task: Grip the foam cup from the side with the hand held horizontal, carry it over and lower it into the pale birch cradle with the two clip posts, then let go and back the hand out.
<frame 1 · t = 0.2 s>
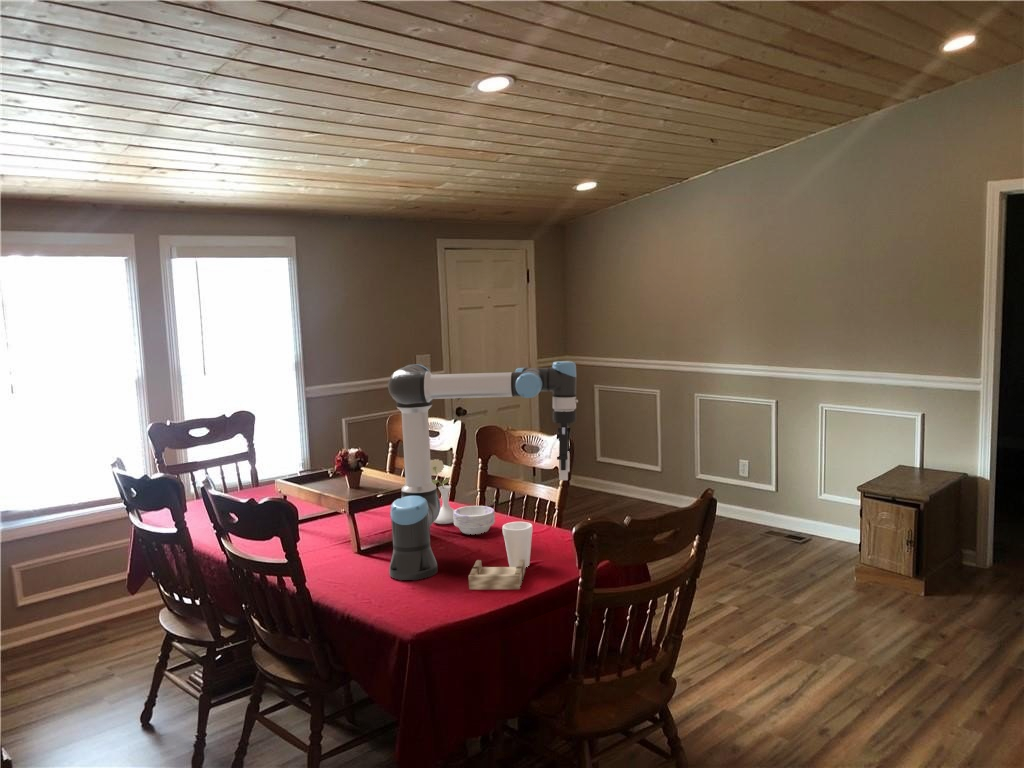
hand: (564, 475, 256), 27 cm above the table, tool pointing down, fingers open, 13 cm apart
flower in vase: (444, 522, 308), on the table
cradle: (497, 580, 242), on the table
foam cup: (519, 566, 254), on the table
paper bowls: (475, 531, 294), on the table
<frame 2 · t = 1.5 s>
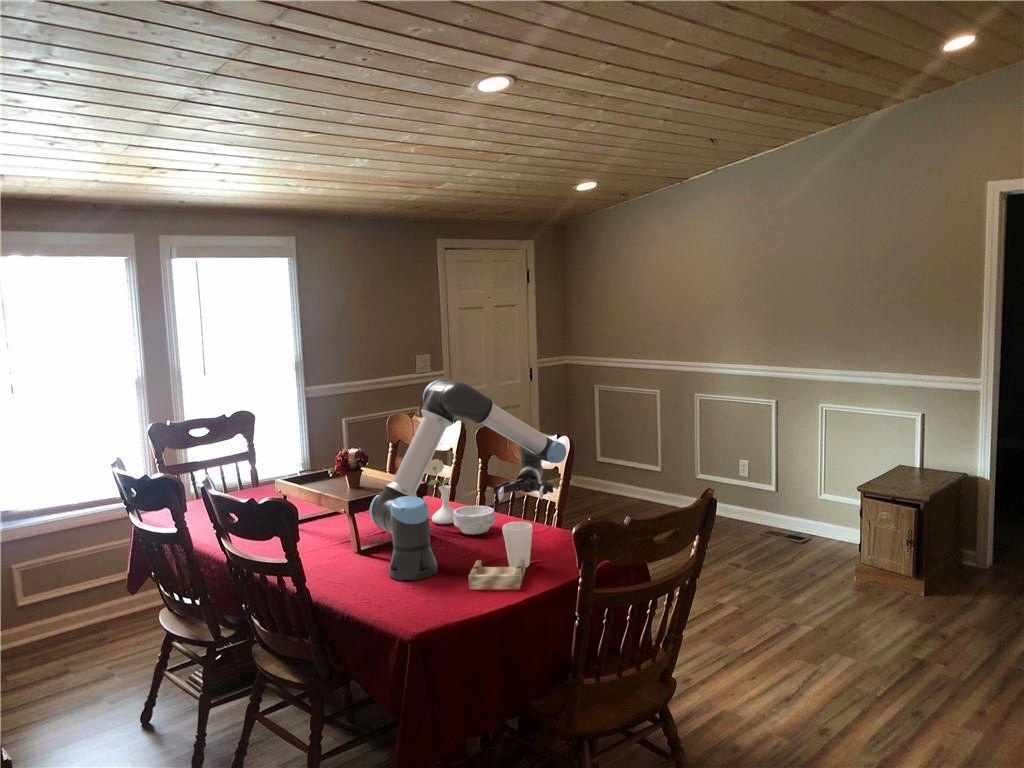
hand: (519, 495, 261), 20 cm above the table, tool horizontal, fingers open, 13 cm apart
nothing on the table moved.
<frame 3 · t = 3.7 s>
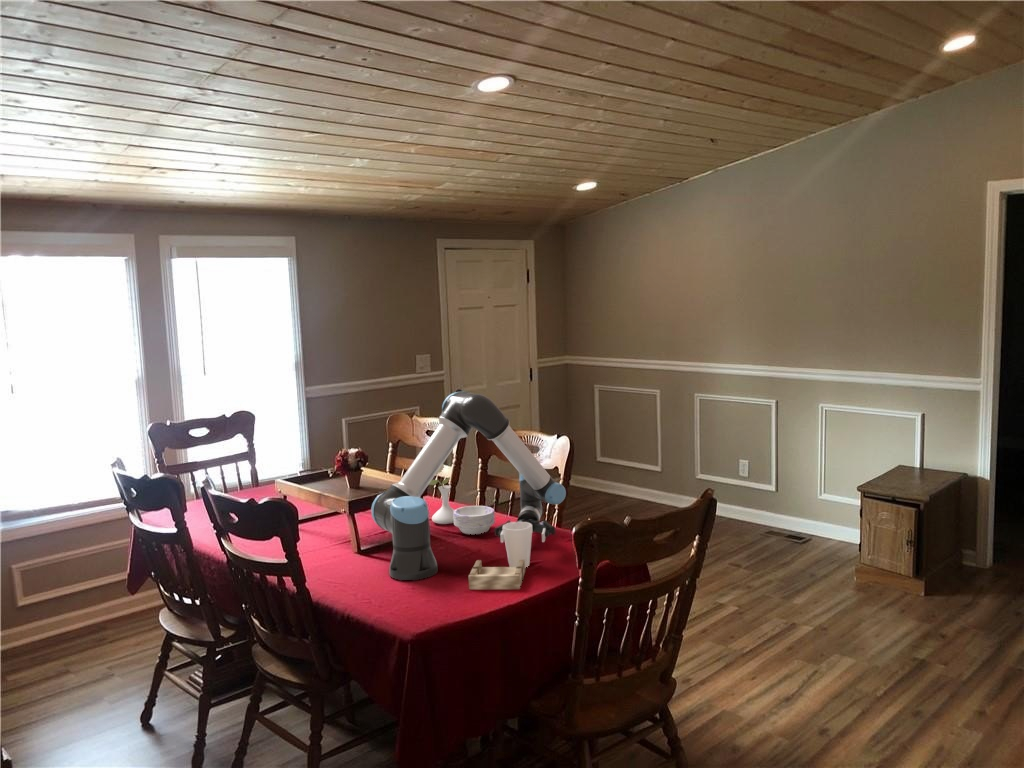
hand: (522, 538, 260), 7 cm above the table, tool horizontal, fingers open, 13 cm apart
nothing on the table moved.
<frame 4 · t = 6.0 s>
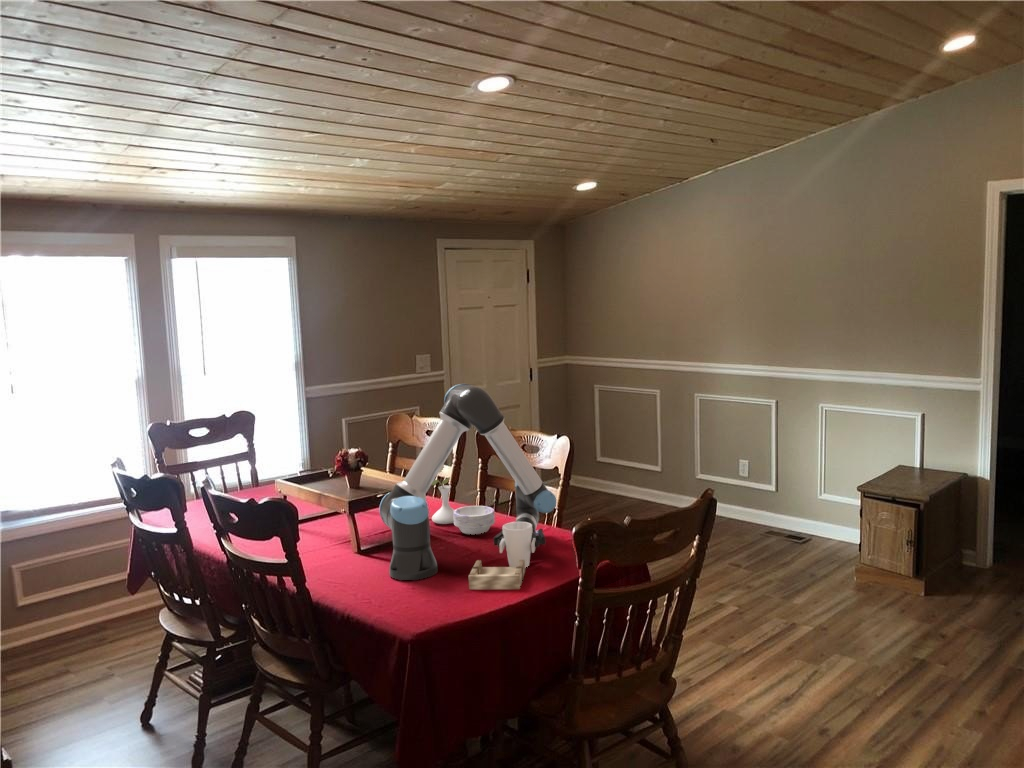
hand: (516, 548, 249), 7 cm above the table, tool horizontal, fingers closed on foam cup, 9 cm apart
foam cup: (519, 566, 254), on the table, touching gripper
everything else where it was.
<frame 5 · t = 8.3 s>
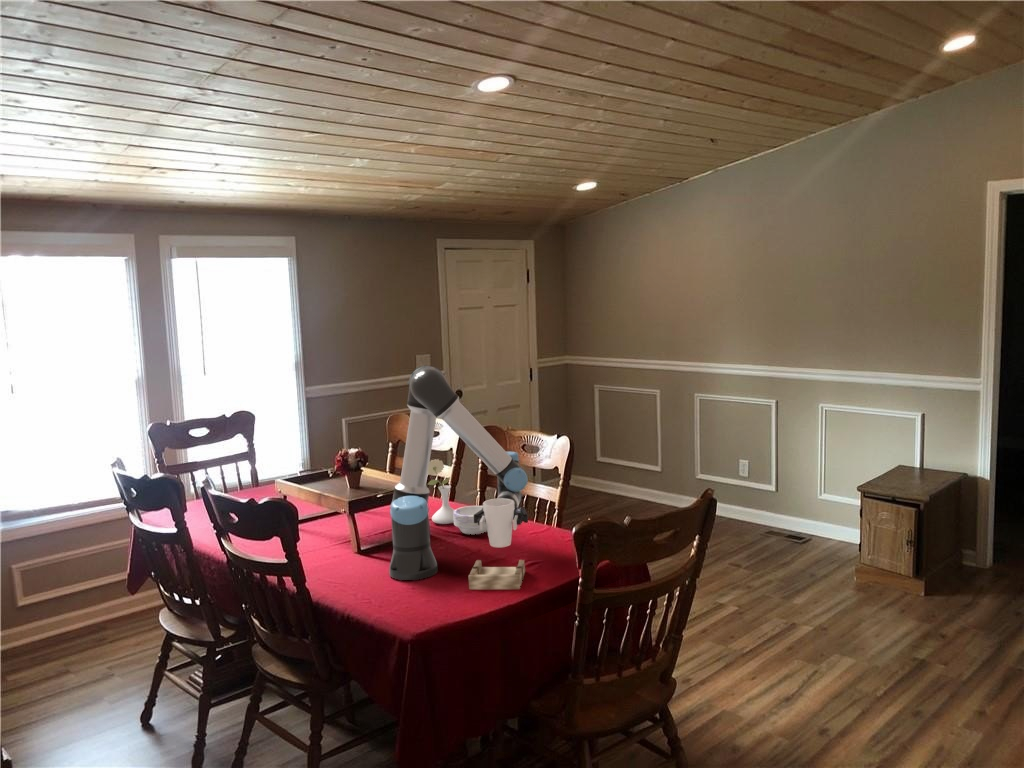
hand: (497, 525, 237), 18 cm above the table, tool horizontal, fingers closed on foam cup, 9 cm apart
foam cup: (500, 544, 242), point 11 cm above the table, touching gripper
everything else where it was.
when the fingers open (10 cm above the table, at t = 10.5 s): foam cup drops 1 cm, resting on cradle.
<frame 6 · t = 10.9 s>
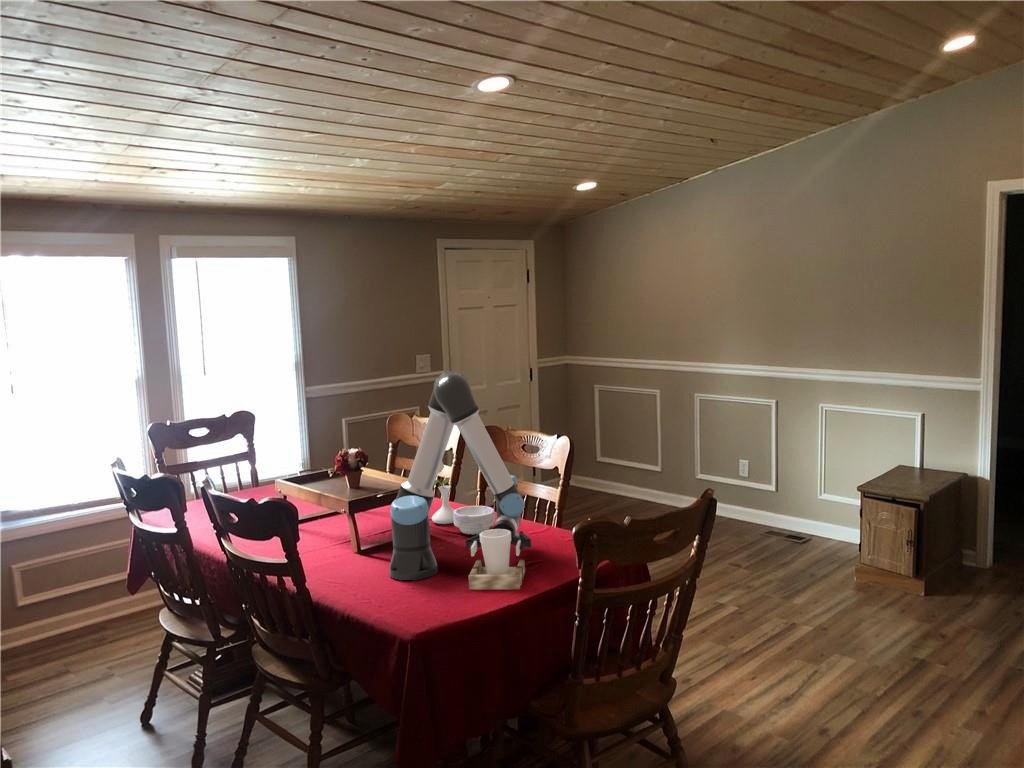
hand: (494, 551, 238), 10 cm above the table, tool horizontal, fingers open, 13 cm apart
foam cup: (497, 575, 242), point 1 cm above the table, touching cradle
everything else where it was.
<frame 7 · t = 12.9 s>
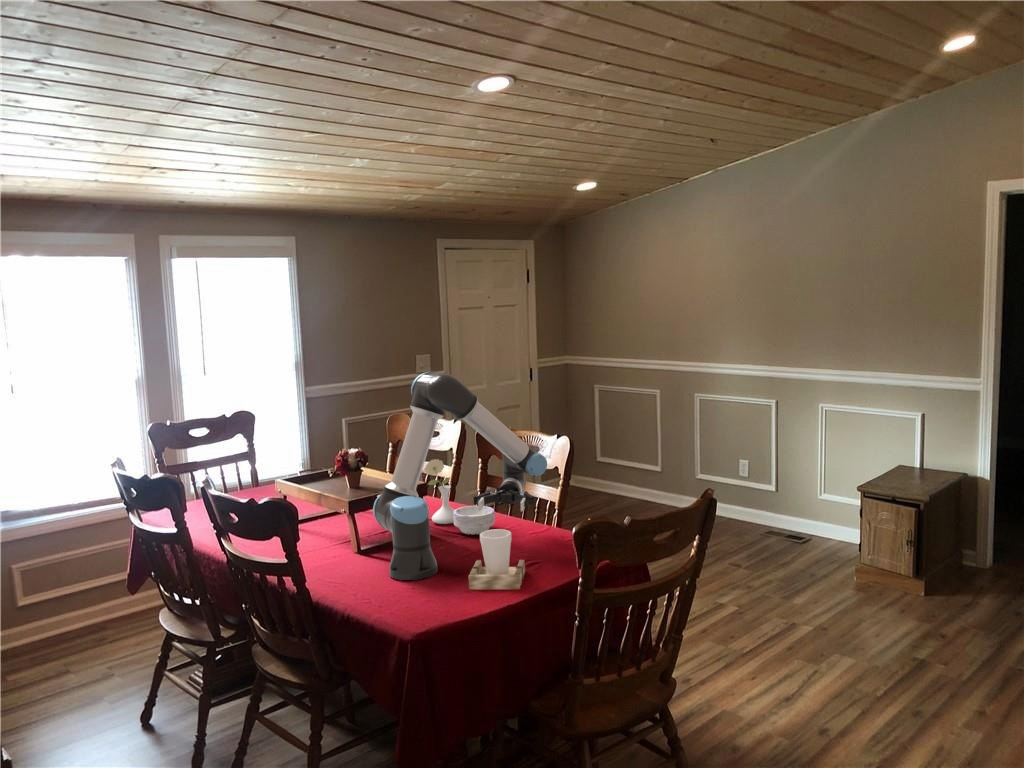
hand: (500, 506, 253), 19 cm above the table, tool horizontal, fingers open, 13 cm apart
nothing on the table moved.
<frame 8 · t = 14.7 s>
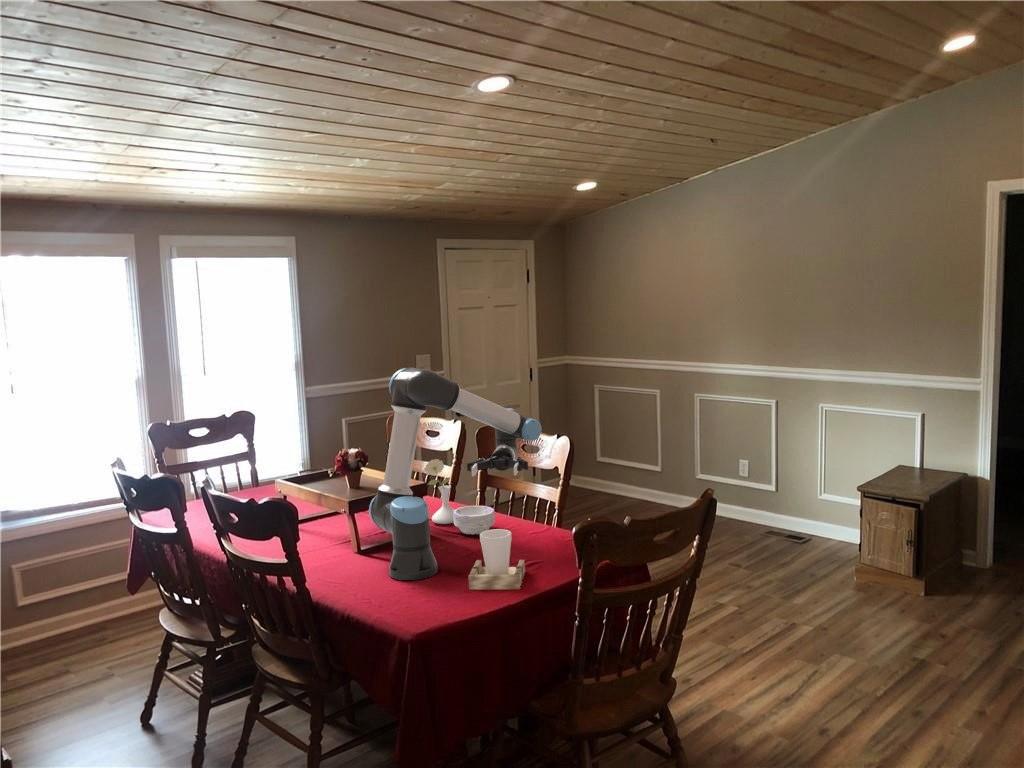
hand: (493, 471, 254), 30 cm above the table, tool horizontal, fingers open, 13 cm apart
nothing on the table moved.
at the end: foam cup inside the target area on the cradle (0.0 cm from its centre), point 1.3 cm above the cradle's base; foam cup tilted 0°; the gripper is holding nothing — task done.
